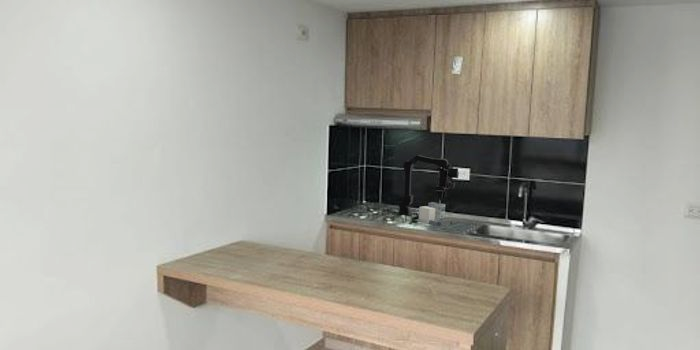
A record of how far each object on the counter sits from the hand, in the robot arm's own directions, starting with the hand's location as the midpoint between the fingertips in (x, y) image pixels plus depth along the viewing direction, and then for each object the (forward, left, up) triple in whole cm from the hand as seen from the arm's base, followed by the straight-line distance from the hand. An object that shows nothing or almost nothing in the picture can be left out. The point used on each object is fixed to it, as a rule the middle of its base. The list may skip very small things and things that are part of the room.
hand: (442, 199), depth 377 cm
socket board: (-2, -13, -15) cm, 20 cm away
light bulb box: (-5, +8, -16) cm, 18 cm away
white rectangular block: (-8, -10, -14) cm, 19 cm away
